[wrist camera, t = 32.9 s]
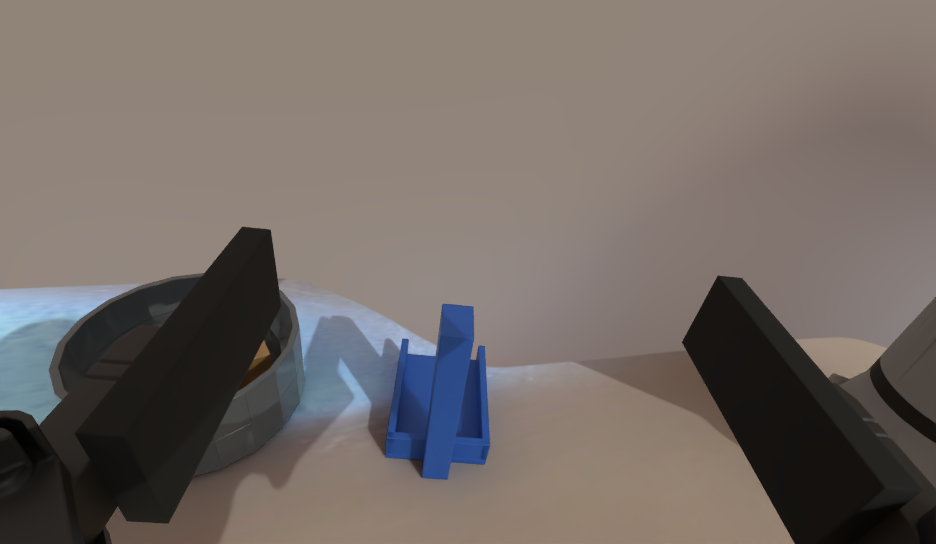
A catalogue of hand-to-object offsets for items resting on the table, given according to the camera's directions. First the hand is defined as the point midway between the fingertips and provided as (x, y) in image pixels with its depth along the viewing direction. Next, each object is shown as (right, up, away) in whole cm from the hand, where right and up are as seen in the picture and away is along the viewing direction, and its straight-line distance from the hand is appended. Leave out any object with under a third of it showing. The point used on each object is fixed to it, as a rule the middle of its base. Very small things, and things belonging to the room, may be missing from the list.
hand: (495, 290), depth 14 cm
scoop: (-3, -12, +27) cm, 30 cm away
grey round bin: (-23, -10, +25) cm, 36 cm away
